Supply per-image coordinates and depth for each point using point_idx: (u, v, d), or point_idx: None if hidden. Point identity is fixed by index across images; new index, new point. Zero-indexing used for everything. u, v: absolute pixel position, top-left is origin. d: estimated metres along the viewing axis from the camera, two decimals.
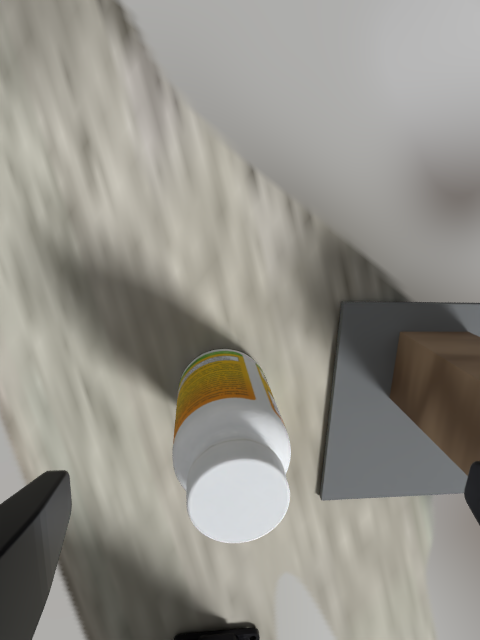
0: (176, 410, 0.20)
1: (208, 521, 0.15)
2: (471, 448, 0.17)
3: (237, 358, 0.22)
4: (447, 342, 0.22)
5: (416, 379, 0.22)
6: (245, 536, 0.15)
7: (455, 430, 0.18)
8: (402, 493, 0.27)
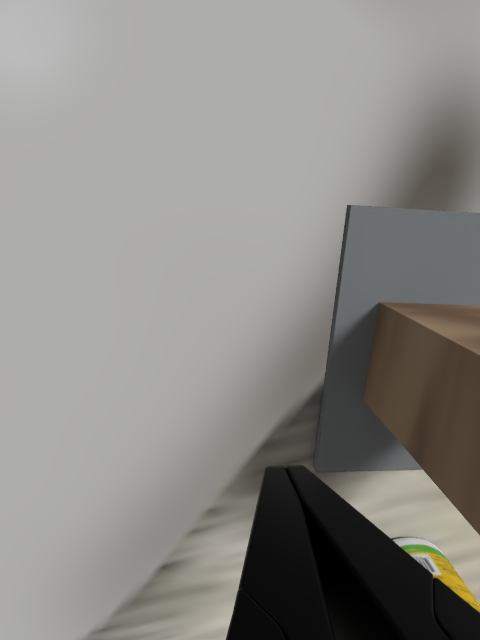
0: None
1: None
2: None
3: None
4: (391, 383, 0.15)
5: None
6: None
7: None
8: None
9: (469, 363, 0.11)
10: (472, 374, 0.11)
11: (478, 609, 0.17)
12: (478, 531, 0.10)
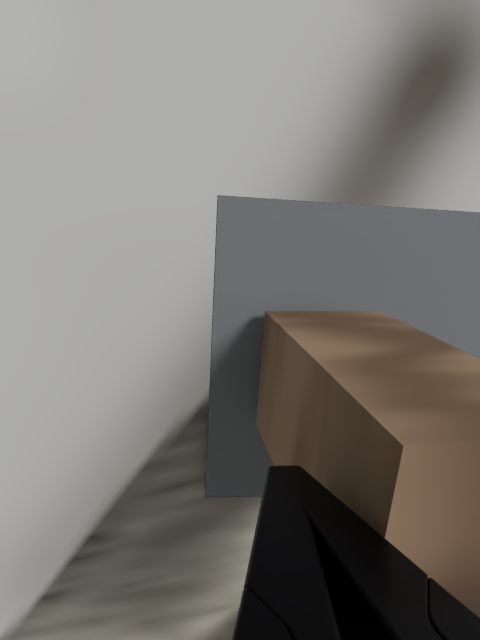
0: None
1: None
2: None
3: None
4: (274, 409, 0.12)
5: None
6: None
7: None
8: None
9: (333, 395, 0.08)
10: (336, 410, 0.08)
11: None
12: None
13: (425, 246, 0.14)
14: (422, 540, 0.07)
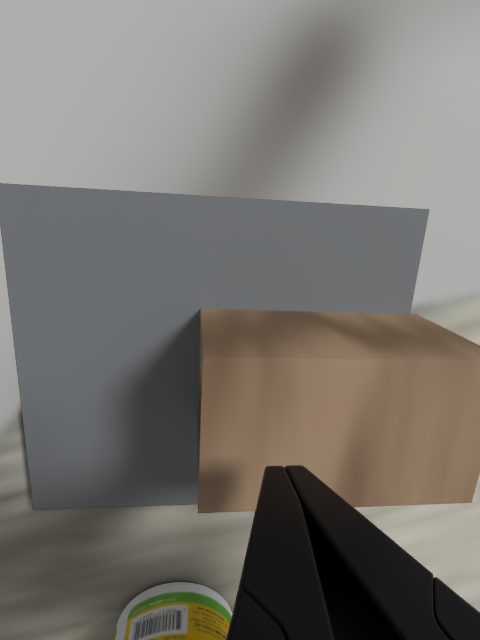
0: None
1: None
2: None
3: None
4: (275, 455, 0.10)
5: None
6: None
7: None
8: None
9: (421, 372, 0.10)
10: (426, 381, 0.10)
11: None
12: (450, 501, 0.11)
13: (240, 238, 0.13)
14: None
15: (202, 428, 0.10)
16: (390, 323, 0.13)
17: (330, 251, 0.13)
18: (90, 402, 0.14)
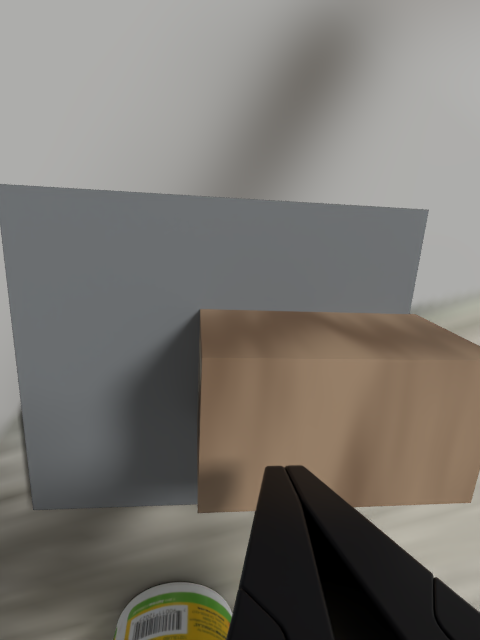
0: None
1: None
2: None
3: None
4: (274, 454, 0.10)
5: None
6: None
7: None
8: None
9: (420, 373, 0.10)
10: (426, 381, 0.10)
11: None
12: (449, 501, 0.11)
13: (240, 239, 0.13)
14: None
15: (201, 428, 0.10)
16: (389, 323, 0.13)
17: (329, 251, 0.13)
18: (90, 402, 0.14)
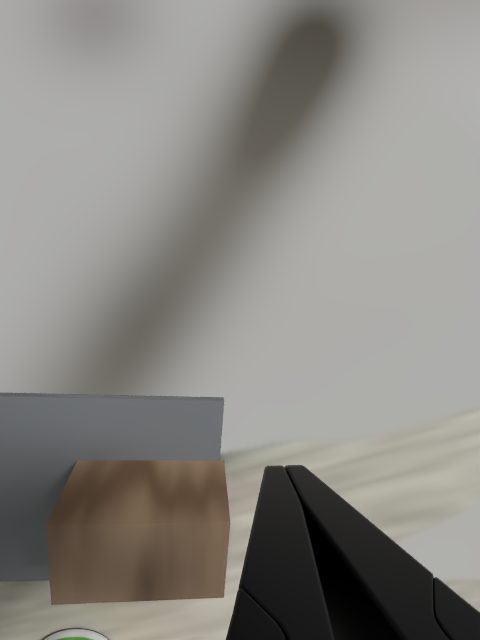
0: None
1: None
2: None
3: None
4: (94, 573, 0.18)
5: None
6: None
7: None
8: None
9: (176, 529, 0.17)
10: (181, 533, 0.17)
11: None
12: (209, 597, 0.19)
13: (100, 420, 0.20)
14: None
15: (49, 560, 0.17)
16: (193, 476, 0.20)
17: (160, 425, 0.21)
18: (7, 516, 0.21)
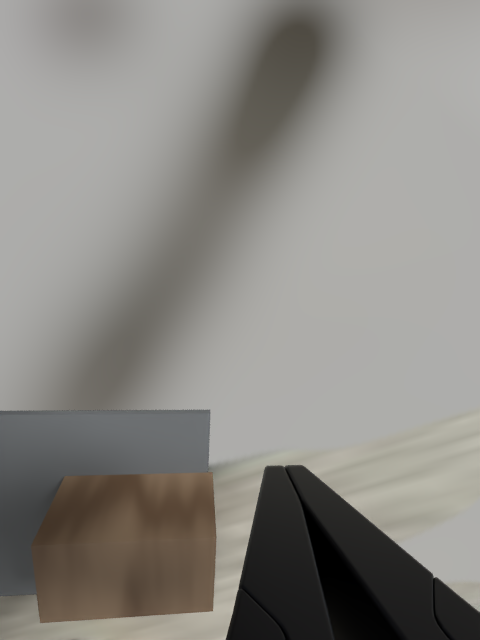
0: None
1: None
2: None
3: None
4: (82, 591, 0.18)
5: None
6: None
7: None
8: None
9: (162, 546, 0.17)
10: (167, 550, 0.17)
11: None
12: (198, 611, 0.19)
13: (86, 436, 0.20)
14: None
15: (36, 579, 0.17)
16: (181, 489, 0.20)
17: (147, 439, 0.21)
18: None
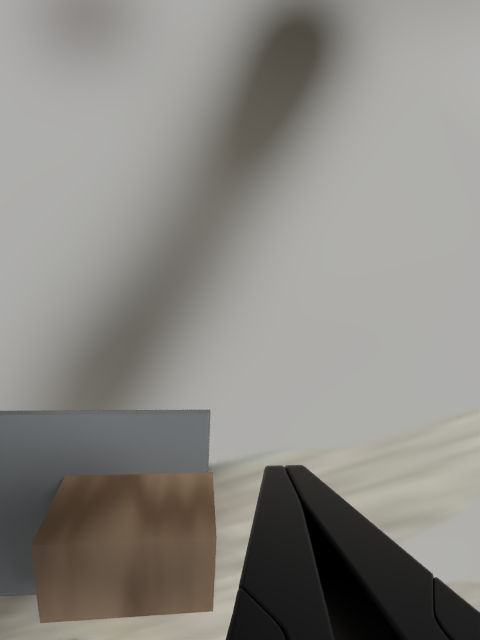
0: None
1: None
2: None
3: None
4: (82, 591, 0.18)
5: None
6: None
7: None
8: None
9: (162, 546, 0.17)
10: (167, 550, 0.17)
11: None
12: (198, 611, 0.19)
13: (86, 436, 0.20)
14: None
15: (36, 579, 0.17)
16: (181, 489, 0.20)
17: (147, 439, 0.21)
18: None
